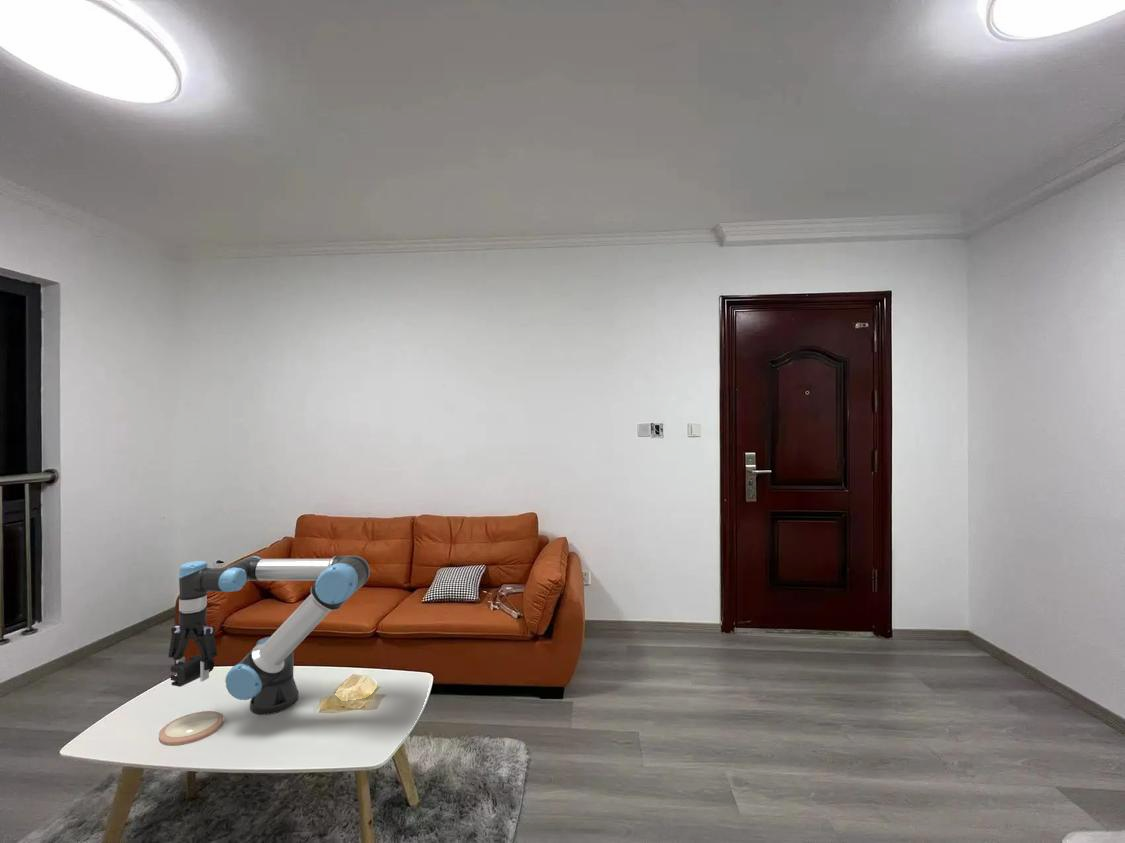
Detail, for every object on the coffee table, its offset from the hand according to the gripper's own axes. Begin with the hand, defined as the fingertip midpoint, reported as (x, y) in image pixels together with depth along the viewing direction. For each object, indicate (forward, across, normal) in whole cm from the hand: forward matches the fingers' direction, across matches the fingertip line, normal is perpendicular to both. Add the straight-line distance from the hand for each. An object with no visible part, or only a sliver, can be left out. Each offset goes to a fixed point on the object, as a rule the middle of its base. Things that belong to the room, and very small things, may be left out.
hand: (192, 679), depth 170 cm
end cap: (+1, 0, 0) cm, 1 cm away
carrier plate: (+15, -2, +2) cm, 15 cm away
